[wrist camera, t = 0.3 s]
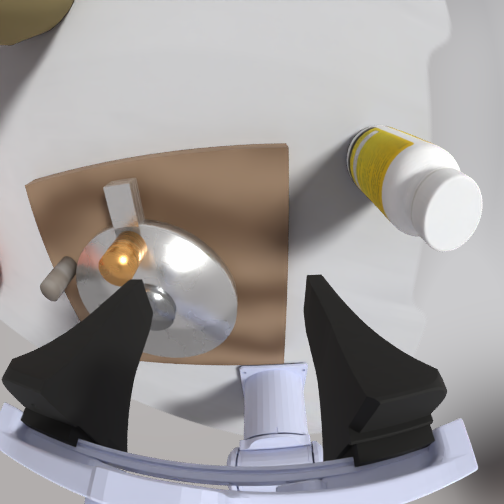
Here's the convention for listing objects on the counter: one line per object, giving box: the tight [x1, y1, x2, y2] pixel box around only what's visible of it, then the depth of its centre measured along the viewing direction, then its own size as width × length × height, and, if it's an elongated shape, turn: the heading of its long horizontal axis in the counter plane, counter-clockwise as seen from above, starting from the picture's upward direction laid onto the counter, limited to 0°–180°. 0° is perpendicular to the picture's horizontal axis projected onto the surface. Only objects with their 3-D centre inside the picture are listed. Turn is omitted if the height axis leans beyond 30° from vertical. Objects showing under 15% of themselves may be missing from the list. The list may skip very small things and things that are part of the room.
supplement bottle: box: [347, 125, 482, 252], centre depth 14 cm, size 5×5×10 cm
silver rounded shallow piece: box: [76, 178, 238, 358], centre depth 20 cm, size 17×14×4 cm
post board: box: [25, 143, 289, 365], centre depth 22 cm, size 22×22×6 cm
